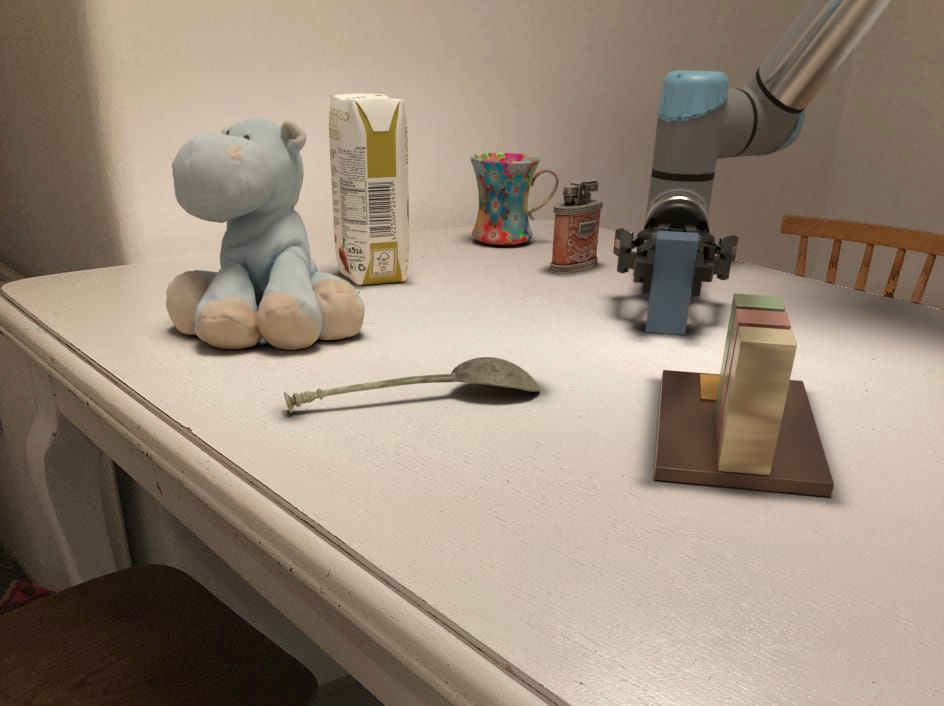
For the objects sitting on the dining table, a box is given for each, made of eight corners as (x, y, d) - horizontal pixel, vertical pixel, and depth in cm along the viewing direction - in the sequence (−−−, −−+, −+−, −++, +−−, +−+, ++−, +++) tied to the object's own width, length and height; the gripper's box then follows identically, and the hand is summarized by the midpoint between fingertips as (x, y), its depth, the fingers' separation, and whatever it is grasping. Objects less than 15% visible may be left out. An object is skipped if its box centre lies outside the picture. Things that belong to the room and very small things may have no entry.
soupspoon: (552, 407, 81) (522, 386, 86) (555, 367, 79) (524, 348, 85) (292, 424, 74) (277, 400, 80) (290, 381, 73) (275, 359, 78)
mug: (467, 247, 130) (468, 160, 124) (469, 234, 138) (471, 151, 132) (555, 250, 130) (561, 163, 124) (553, 236, 137) (559, 154, 132)
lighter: (565, 274, 118) (571, 186, 113) (543, 270, 120) (548, 182, 115) (603, 264, 123) (611, 179, 118) (582, 260, 125) (589, 175, 120)
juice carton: (354, 288, 111) (346, 99, 100) (331, 271, 117) (321, 93, 107) (415, 283, 113) (413, 98, 103) (389, 267, 120) (385, 92, 109)
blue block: (685, 324, 101) (698, 232, 96) (685, 335, 97) (698, 240, 92) (646, 321, 101) (657, 230, 96) (645, 332, 98) (656, 238, 93)
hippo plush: (135, 336, 93) (98, 123, 83) (293, 289, 109) (278, 106, 99) (275, 372, 85) (254, 140, 75) (424, 316, 101) (423, 118, 91)
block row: (800, 391, 84) (827, 271, 78) (831, 497, 66) (868, 351, 60) (661, 380, 85) (677, 262, 80) (653, 480, 67) (673, 336, 62)
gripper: (745, 271, 112) (757, 326, 92) (598, 262, 114) (579, 314, 95) (757, 201, 107) (772, 243, 88) (604, 193, 110) (586, 233, 91)
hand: (672, 280), depth 92 cm, fingers closed on blue block, 4 cm apart
